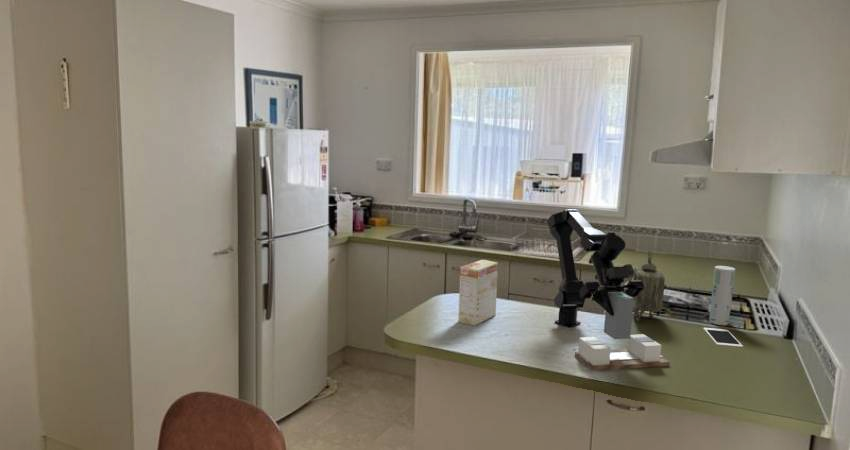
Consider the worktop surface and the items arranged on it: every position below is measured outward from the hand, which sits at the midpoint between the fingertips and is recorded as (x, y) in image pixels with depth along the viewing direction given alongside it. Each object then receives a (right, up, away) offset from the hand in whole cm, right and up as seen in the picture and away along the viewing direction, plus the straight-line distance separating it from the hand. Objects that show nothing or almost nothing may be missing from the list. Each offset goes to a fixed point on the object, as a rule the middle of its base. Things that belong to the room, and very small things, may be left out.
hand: (621, 315), depth 169 cm
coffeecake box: (-38, -7, +36) cm, 53 cm away
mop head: (+23, -8, +42) cm, 48 cm away
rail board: (0, -14, +2) cm, 14 cm away
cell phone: (+42, -12, +25) cm, 50 cm away
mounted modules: (0, -12, +2) cm, 13 cm away
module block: (0, -6, +2) cm, 7 cm away
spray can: (+48, -9, +40) cm, 63 cm away
